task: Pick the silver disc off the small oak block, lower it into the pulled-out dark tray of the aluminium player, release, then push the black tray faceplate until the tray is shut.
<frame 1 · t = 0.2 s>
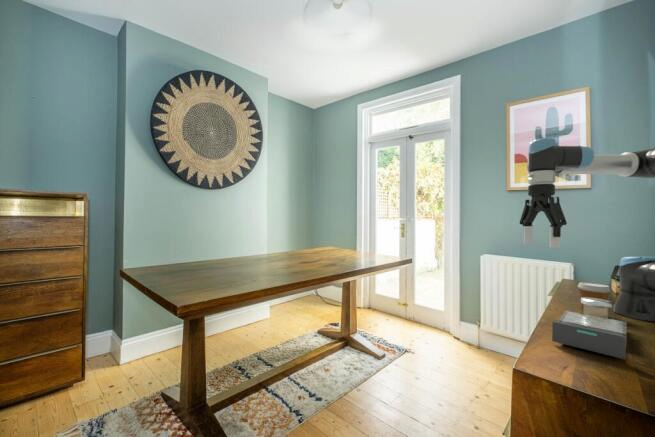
hand: (540, 245, 101), 27 cm above the table, fingers open, 13 cm apart
oak block: (595, 324, 102), on the table
disc: (595, 304, 102), point 7 cm above the table, touching oak block
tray: (588, 332, 84), point 4 cm above the table, slide at 11.0 cm
disposable coffee cup: (593, 315, 112), on the table
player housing: (592, 335, 91), on the table
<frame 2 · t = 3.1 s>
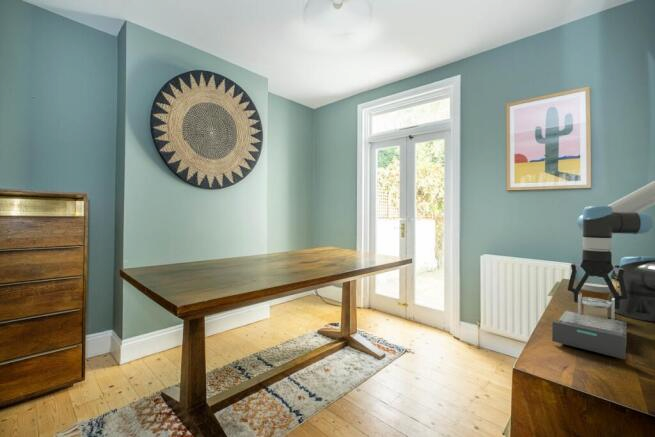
hand: (595, 314, 102), 3 cm above the table, fingers closed on disc, 8 cm apart
disc: (595, 304, 102), point 7 cm above the table, touching gripper, oak block
everything else where it was.
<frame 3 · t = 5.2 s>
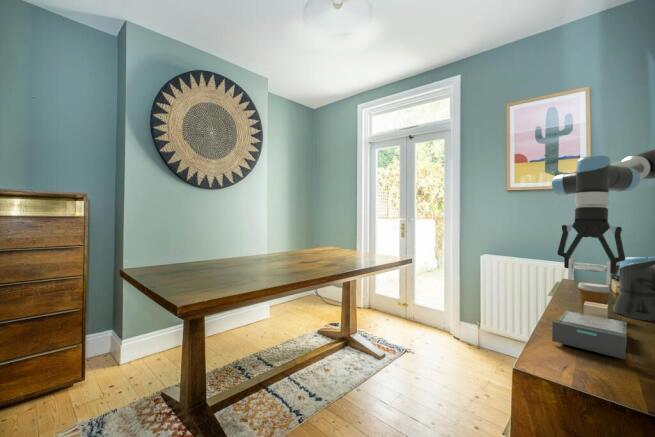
hand: (588, 281, 89), 18 cm above the table, fingers closed on disc, 8 cm apart
disc: (589, 269, 89), point 21 cm above the table, touching gripper
everything else where it was.
when the fingers open (2 cm above the table, at t = 7.7 s): disc drops 4 cm, resting on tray.
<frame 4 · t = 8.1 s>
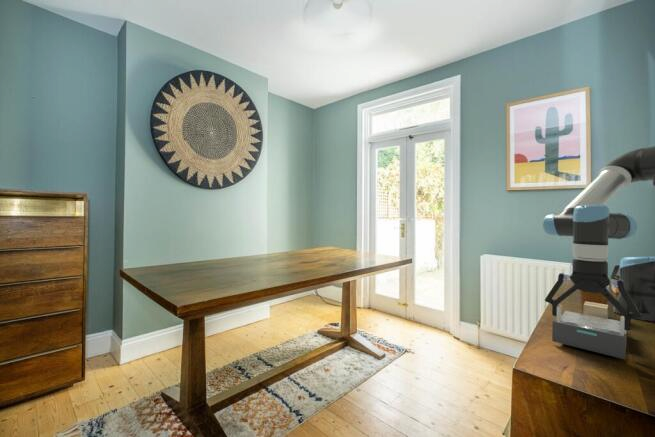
hand: (588, 334, 83), 4 cm above the table, fingers open, 13 cm apart
disc: (588, 341, 83), point 2 cm above the table, touching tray
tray: (588, 332, 84), point 4 cm above the table, slide at 11.0 cm, touching disc
everything else where it was.
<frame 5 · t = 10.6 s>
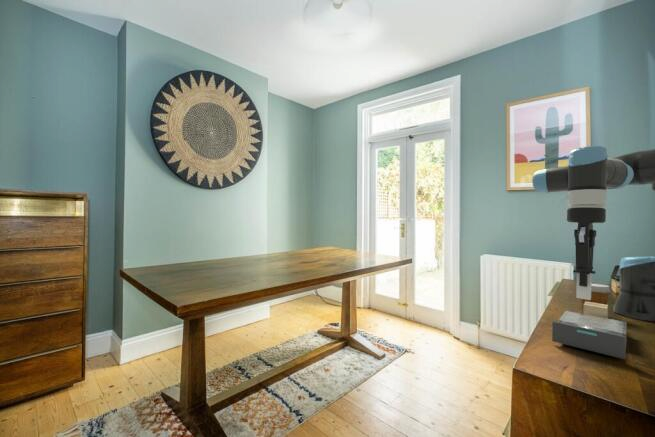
hand: (583, 298, 75), 16 cm above the table, fingers closed
nothing on the table moved.
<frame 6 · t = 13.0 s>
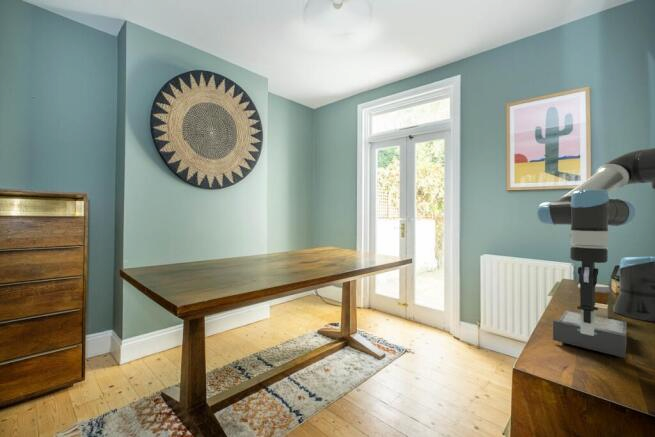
hand: (587, 333, 79), 5 cm above the table, fingers closed
disc: (588, 340, 84), point 2 cm above the table, touching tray
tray: (589, 331, 84), point 4 cm above the table, slide at 9.8 cm, touching disc, gripper
everything else where it was.
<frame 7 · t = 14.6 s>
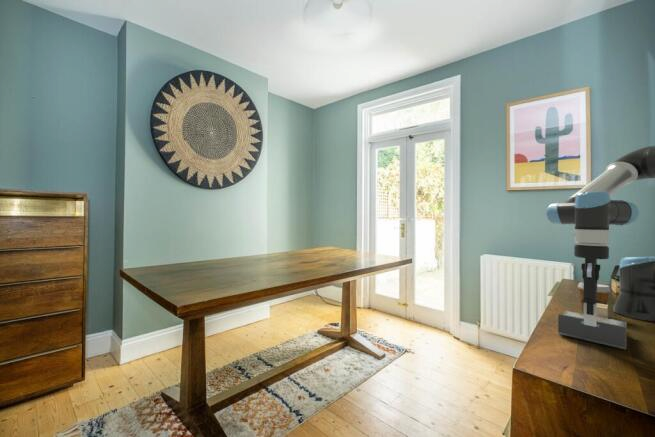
hand: (590, 325, 85), 6 cm above the table, fingers closed
disc: (591, 332, 90), point 2 cm above the table, touching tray
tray: (591, 324, 91), point 4 cm above the table, slide at 0.7 cm, touching disc, gripper
everything else where it was.
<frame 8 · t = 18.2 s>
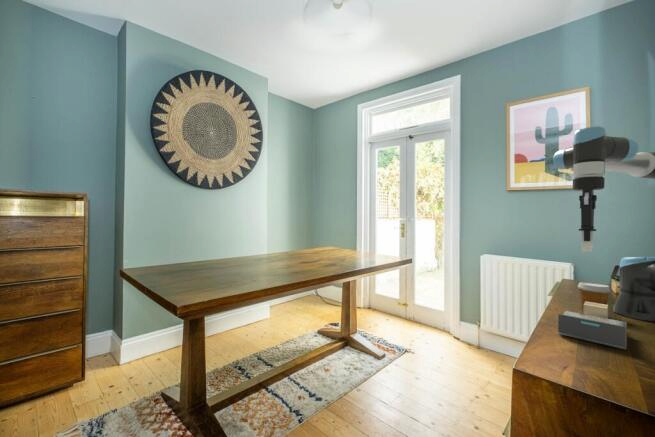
hand: (587, 251, 92), 26 cm above the table, fingers closed
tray: (592, 324, 91), point 4 cm above the table, slide at 0.5 cm, touching disc
everything else where it was.
at the end: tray slide at 0.5 cm; disc 1.8 cm from the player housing (horizontally); disc point 1.6 cm above the table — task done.
